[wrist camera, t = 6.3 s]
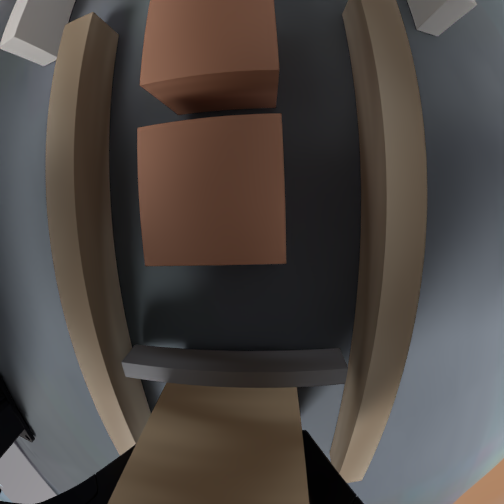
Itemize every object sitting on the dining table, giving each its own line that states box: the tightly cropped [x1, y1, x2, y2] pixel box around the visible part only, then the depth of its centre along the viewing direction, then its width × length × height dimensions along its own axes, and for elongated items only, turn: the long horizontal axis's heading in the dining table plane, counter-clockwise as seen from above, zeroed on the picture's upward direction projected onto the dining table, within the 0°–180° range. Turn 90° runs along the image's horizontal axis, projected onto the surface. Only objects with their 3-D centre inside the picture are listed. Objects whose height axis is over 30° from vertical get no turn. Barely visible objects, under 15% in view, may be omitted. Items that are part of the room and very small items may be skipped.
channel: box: [46, 0, 427, 483], centre depth 8 cm, size 10×18×2 cm, turn 2°
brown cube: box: [137, 113, 286, 266], centre depth 7 cm, size 3×3×3 cm
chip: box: [140, 0, 279, 115], centre depth 6 cm, size 3×3×3 cm
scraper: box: [108, 345, 348, 504], centre depth 6 cm, size 7×5×6 cm, turn 92°
